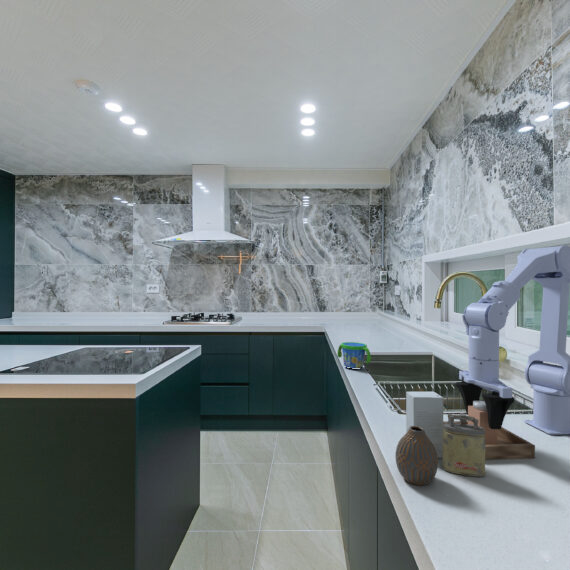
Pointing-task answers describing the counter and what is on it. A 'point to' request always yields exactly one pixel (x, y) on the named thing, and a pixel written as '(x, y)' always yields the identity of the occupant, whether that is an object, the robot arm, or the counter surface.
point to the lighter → (463, 446)
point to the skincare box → (426, 416)
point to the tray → (507, 446)
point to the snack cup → (354, 354)
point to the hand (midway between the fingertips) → (482, 421)
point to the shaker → (483, 421)
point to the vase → (416, 457)
